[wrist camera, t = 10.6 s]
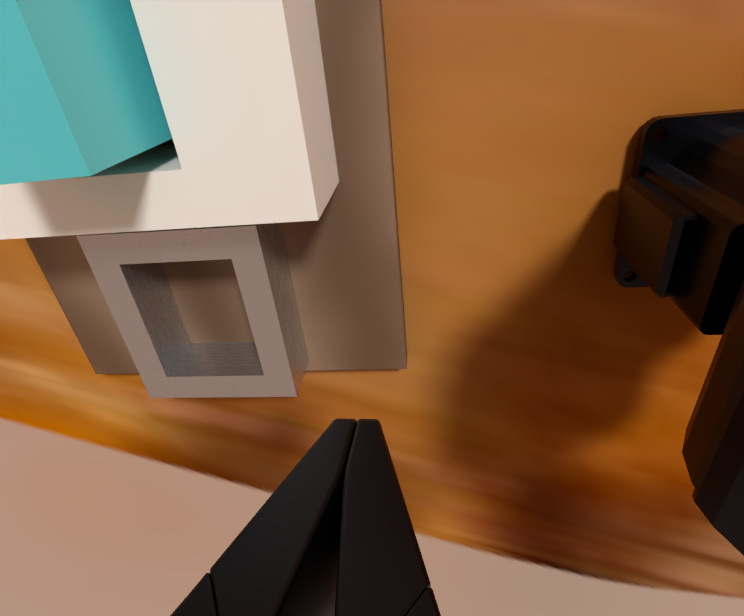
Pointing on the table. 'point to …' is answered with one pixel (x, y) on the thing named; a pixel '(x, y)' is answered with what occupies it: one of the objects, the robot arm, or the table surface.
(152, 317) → the holster
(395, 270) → the board
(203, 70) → the port box
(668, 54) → the table surface
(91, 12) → the plug
